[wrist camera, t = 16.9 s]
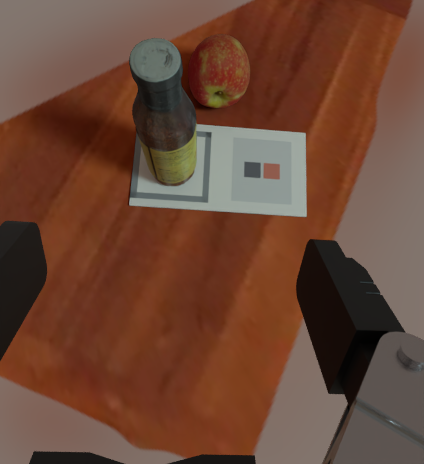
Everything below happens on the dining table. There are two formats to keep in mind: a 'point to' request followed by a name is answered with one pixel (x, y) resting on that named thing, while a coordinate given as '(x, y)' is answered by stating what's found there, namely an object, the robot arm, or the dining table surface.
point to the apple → (218, 71)
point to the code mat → (233, 174)
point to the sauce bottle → (163, 112)
